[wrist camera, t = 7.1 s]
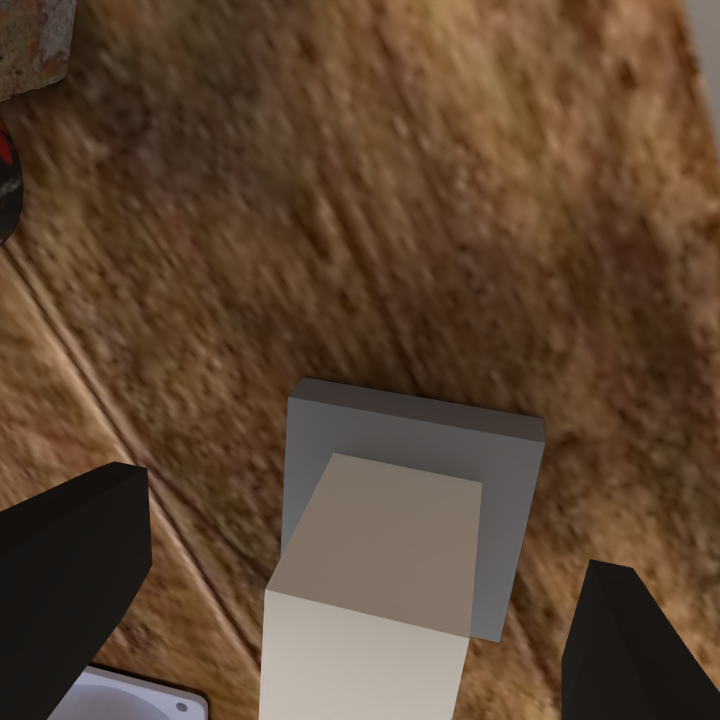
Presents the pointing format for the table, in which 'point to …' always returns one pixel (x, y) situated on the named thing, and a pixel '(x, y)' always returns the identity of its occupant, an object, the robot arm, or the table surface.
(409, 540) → the cream block
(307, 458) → the slate base
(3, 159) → the deodorant
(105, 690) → the robot arm
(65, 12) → the geological specimen
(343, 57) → the table surface
